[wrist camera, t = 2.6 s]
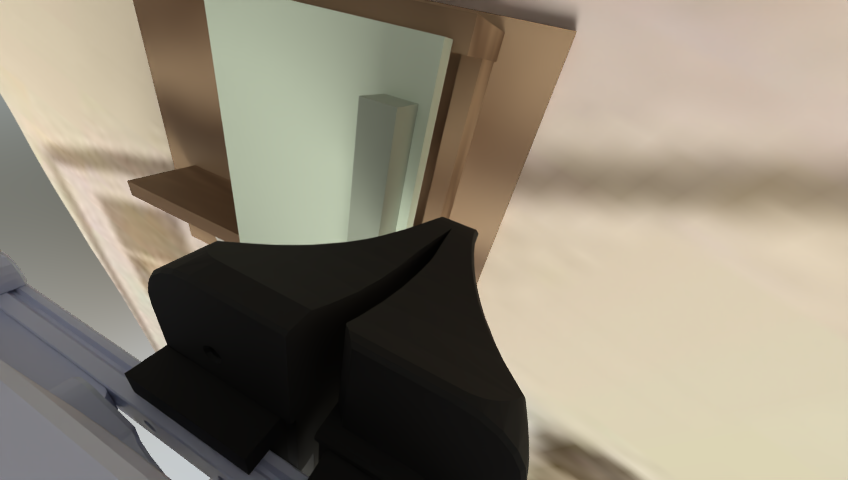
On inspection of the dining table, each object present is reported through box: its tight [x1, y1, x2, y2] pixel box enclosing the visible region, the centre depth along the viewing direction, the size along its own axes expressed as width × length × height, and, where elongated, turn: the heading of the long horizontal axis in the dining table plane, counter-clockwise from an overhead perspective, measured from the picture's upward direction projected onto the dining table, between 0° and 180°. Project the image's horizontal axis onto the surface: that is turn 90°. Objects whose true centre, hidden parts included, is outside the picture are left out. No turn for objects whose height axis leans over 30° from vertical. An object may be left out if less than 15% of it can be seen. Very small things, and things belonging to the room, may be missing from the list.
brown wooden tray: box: [128, 0, 576, 284], centre depth 18 cm, size 20×25×5 cm
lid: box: [204, 0, 453, 245], centre depth 12 cm, size 12×9×2 cm
